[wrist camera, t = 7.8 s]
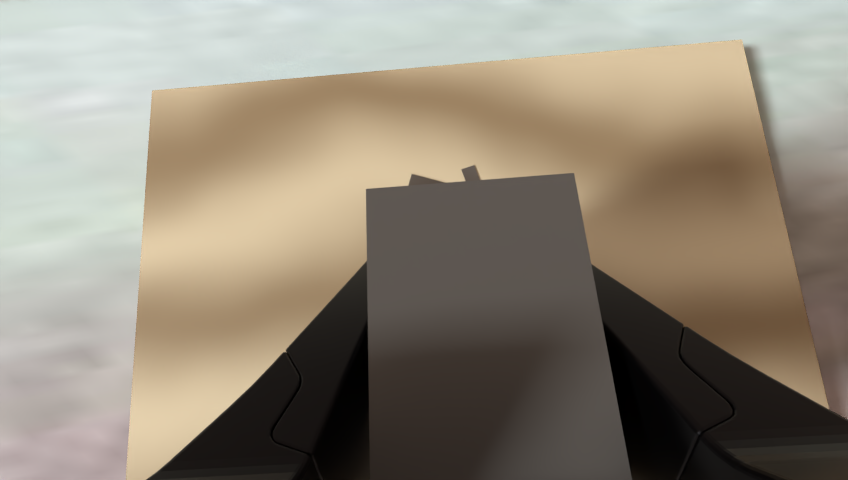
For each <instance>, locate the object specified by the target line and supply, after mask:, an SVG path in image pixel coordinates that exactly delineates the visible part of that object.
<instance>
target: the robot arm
mask: <svg viewBox="0 0 848 480" xmlns="http://www.w3.org/2000/svg"><path fill="white" fill-rule="evenodd" d="M591 265H592V264H591ZM592 271H593V276H594V281H595V286H596V292H597V297H598V302H599V308H600V313H601V318H602V323H603V329H604V334H605V339H606V345H607V350H608V355H609V360H610V366H611V371H612V376H613V382H614V387H615V392H616V397H617V403H618V408H619V413H620V419H621V424H622V429H623V434H624V440H625V445H626V450H627V456H628V461H629V466H630V471H631V477H632V480H848V420H847V419H845V418H844V417H842V416H840V415H838V414H836V413H835V412H833V411H831V410H829V409H827V408H826V407H824V406H822V405H820V404H818V403H817V402H815V401H813V400H811V399H809V398H808V397H806V396H804V395H802V394H800V393H799V392H797V391H795V390H793V389H791V388H790V387H788V386H786V385H784V384H782V383H781V382H779V381H777V380H775V379H773V378H772V377H770V376H768V375H766V374H764V373H763V372H761V371H759V370H757V369H756V368H754V367H752V366H751V365H749V364H747V363H745V362H744V361H742V360H740V359H738V358H737V357H735V356H733V355H732V354H730V353H728V352H727V351H725V350H724V349H722V348H720V347H719V346H717V345H716V344H714V343H712V342H711V341H709V340H708V339H706V338H704V337H703V336H701V335H700V334H698V333H697V332H695V331H694V330H692V329H691V328H689V327H687V326H685V327H684V325H683V323H681V322H680V321H678V320H677V319H675V318H674V317H672V316H670V315H669V314H667V313H666V312H664V311H663V310H661V309H660V308H658V307H657V306H655V305H654V304H652V303H651V302H649V301H648V300H646V299H644V298H643V297H641V296H640V295H638V294H637V293H635V292H634V291H632V290H631V289H629V288H628V287H626V286H625V285H623V284H621V283H620V282H618V281H617V280H615V279H614V278H612V277H611V276H609V275H608V274H606V273H605V272H603V271H602V270H600V269H598V268H597V267H595V266H594V265H592ZM146 480H370V440H369V371H368V302H367V261H366V262H365V263H364V264H363V265H362V266H361V267H360V269H359V270H358V271H357V272H356V273H355V274H354V275H353V276H352V277H351V278H350V280H349V281H348V282H347V283H346V284H345V285H344V286H343V287H342V288H341V289H340V290H339V292H338V293H337V294H336V295H335V296H334V297H333V298H332V299H331V300H330V301H329V303H328V304H327V305H326V306H325V307H324V308H323V309H322V310H321V311H320V312H319V313H318V315H317V316H316V317H315V318H314V319H313V320H312V321H311V322H310V323H309V324H308V326H307V327H306V328H305V329H304V330H303V331H302V332H301V333H300V334H299V335H298V336H297V338H296V339H295V340H294V341H293V342H292V343H291V344H290V345H289V346H288V347H287V349H286V352H283V353H282V354H281V355H280V356H279V357H278V358H277V359H276V360H275V361H274V363H273V364H272V365H271V366H270V367H269V368H268V369H267V370H266V371H265V372H264V373H263V374H262V375H261V376H260V377H259V378H258V379H257V380H256V381H255V382H254V383H253V384H252V385H251V386H250V387H249V388H248V389H247V390H246V391H245V392H244V393H243V394H242V395H241V396H240V397H239V398H238V399H237V400H236V401H235V402H234V403H232V404H231V405H230V406H229V407H228V408H227V409H226V410H225V411H224V412H223V413H222V414H221V415H219V416H218V417H217V418H216V419H215V420H214V421H213V422H212V423H211V424H210V425H208V426H207V427H206V428H205V429H204V430H203V431H202V432H201V433H200V434H199V435H197V436H196V437H195V438H194V439H193V440H192V441H191V442H190V443H189V444H188V445H186V446H185V447H184V448H183V449H182V450H181V451H180V452H179V453H178V454H176V455H175V456H174V457H173V458H172V459H171V460H170V461H169V462H168V463H166V464H165V465H164V466H163V467H162V468H161V469H159V470H158V471H157V472H156V473H154V474H153V475H152V476H150V477H149V478H148V479H146Z"/></svg>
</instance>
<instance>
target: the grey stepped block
mask: <svg viewBox="0 0 848 480" xmlns="http://www.w3.org/2000/svg"><path fill="white" fill-rule="evenodd" d="M366 234H367V302H368V371H369V440H370V480H632V477H631V471H630V466H629V461H628V456H627V450H626V445H625V440H624V434H623V429H622V424H621V419H620V413H619V408H618V403H617V397H616V392H615V387H614V382H613V376H612V371H611V366H610V360H609V355H608V350H607V345H606V339H605V334H604V329H603V323H602V318H601V313H600V308H599V302H598V297H597V292H596V286H595V281H594V276H593V271H592V265H591V260H590V255H589V249H588V244H587V239H586V233H585V228H584V223H583V218H582V212H581V207H580V202H579V196H578V191H577V186H576V181H575V175H574V173H565V174H552V175H539V176H526V177H513V178H500V179H487V180H474V181H461V182H448V183H435V184H423V185H410V186H397V187H384V188H371V189H366Z"/></svg>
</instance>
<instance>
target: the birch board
mask: <svg viewBox="0 0 848 480" xmlns="http://www.w3.org/2000/svg"><path fill="white" fill-rule="evenodd" d="M565 173H574V175H575V181H576V186H577V191H578V196H579V202H580V207H581V212H582V218H583V223H584V228H585V233H586V239H587V244H588V249H589V255H590V260H591V264H592V265H594V266H595V267H597V268H598V269H600V270H602V271H603V272H605V273H606V274H608V275H609V276H611V277H612V278H614V279H615V280H617V281H618V282H620V283H621V284H623V285H625V286H626V287H628V288H629V289H631V290H632V291H634V292H635V293H637V294H638V295H640V296H641V297H643V298H644V299H646V300H648V301H649V302H651V303H652V304H654V305H655V306H657V307H658V308H660V309H661V310H663V311H664V312H666V313H667V314H669V315H670V316H672V317H674V318H675V319H677V320H678V321H680V322H681V323H683V325H684V327H685V326H687V327H689V328H691V329H692V330H694V331H695V332H697V333H698V334H700V335H701V336H703V337H704V338H706V339H708V340H709V341H711V342H712V343H714V344H716V345H717V346H719V347H720V348H722V349H724V350H725V351H727V352H728V353H730V354H732V355H733V356H735V357H737V358H738V359H740V360H742V361H744V362H745V363H747V364H749V365H751V366H752V367H754V368H756V369H757V370H759V371H761V372H763V373H764V374H766V375H768V376H770V377H772V378H773V379H775V380H777V381H779V382H781V383H782V384H784V385H786V386H788V387H790V388H791V389H793V390H795V391H797V392H799V393H800V394H802V395H804V396H806V397H808V398H809V399H811V400H813V401H815V402H817V403H818V404H820V405H822V406H824V407H826V408H827V409H829V406H828V402H827V398H826V393H825V389H824V385H823V381H822V376H821V372H820V368H819V364H818V360H817V355H816V351H815V347H814V343H813V338H812V334H811V330H810V326H809V321H808V317H807V313H806V309H805V305H804V300H803V296H802V292H801V288H800V283H799V279H798V275H797V271H796V266H795V262H794V258H793V254H792V250H791V245H790V241H789V237H788V233H787V228H786V224H785V220H784V216H783V211H782V207H781V203H780V199H779V195H778V190H777V186H776V182H775V178H774V173H773V169H772V165H771V161H770V156H769V152H768V148H767V144H766V140H765V135H764V131H763V127H762V123H761V118H760V114H759V110H758V106H757V102H756V97H755V93H754V89H753V85H752V80H751V76H750V72H749V68H748V63H747V59H746V55H745V51H744V47H743V42H742V40H732V41H721V42H709V43H698V44H686V45H674V46H663V47H651V48H640V49H628V50H617V51H605V52H594V53H582V54H570V55H559V56H547V57H536V58H524V59H513V60H501V61H489V62H478V63H466V64H455V65H443V66H432V67H420V68H408V69H397V70H385V71H374V72H362V73H351V74H339V75H328V76H316V77H304V78H293V79H281V80H270V81H258V82H247V83H235V84H223V85H212V86H200V87H189V88H177V89H166V90H154V91H152V101H151V116H150V130H149V145H148V160H147V175H146V189H145V204H144V219H143V234H142V248H141V263H140V278H139V292H138V307H137V322H136V337H135V351H134V366H133V381H132V396H131V410H130V425H129V440H128V455H127V469H126V480H146V479H148V478H149V477H150V476H152V475H153V474H154V473H156V472H157V471H158V470H159V469H161V468H162V467H163V466H164V465H165V464H166V463H168V462H169V461H170V460H171V459H172V458H173V457H174V456H175V455H176V454H178V453H179V452H180V451H181V450H182V449H183V448H184V447H185V446H186V445H188V444H189V443H190V442H191V441H192V440H193V439H194V438H195V437H196V436H197V435H199V434H200V433H201V432H202V431H203V430H204V429H205V428H206V427H207V426H208V425H210V424H211V423H212V422H213V421H214V420H215V419H216V418H217V417H218V416H219V415H221V414H222V413H223V412H224V411H225V410H226V409H227V408H228V407H229V406H230V405H231V404H232V403H234V402H235V401H236V400H237V399H238V398H239V397H240V396H241V395H242V394H243V393H244V392H245V391H246V390H247V389H248V388H249V387H250V386H251V385H252V384H253V383H254V382H255V381H256V380H257V379H258V378H259V377H260V376H261V375H262V374H263V373H264V372H265V371H266V370H267V369H268V368H269V367H270V366H271V365H272V364H273V363H274V361H275V360H276V359H277V358H278V357H279V356H280V355H281V354H282V353H283V352H286V349H287V347H288V346H289V345H290V344H291V343H292V342H293V341H294V340H295V339H296V338H297V336H298V335H299V334H300V333H301V332H302V331H303V330H304V329H305V328H306V327H307V326H308V324H309V323H310V322H311V321H312V320H313V319H314V318H315V317H316V316H317V315H318V313H319V312H320V311H321V310H322V309H323V308H324V307H325V306H326V305H327V304H328V303H329V301H330V300H331V299H332V298H333V297H334V296H335V295H336V294H337V293H338V292H339V290H340V289H341V288H342V287H343V286H344V285H345V284H346V283H347V282H348V281H349V280H350V278H351V277H352V276H353V275H354V274H355V273H356V272H357V271H358V270H359V269H360V267H361V266H362V265H363V264H364V263H365V262H366V261H367V234H366V189H371V188H384V187H397V186H410V185H423V184H435V183H448V182H461V181H474V180H487V179H500V178H513V177H526V176H539V175H552V174H565Z"/></svg>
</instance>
